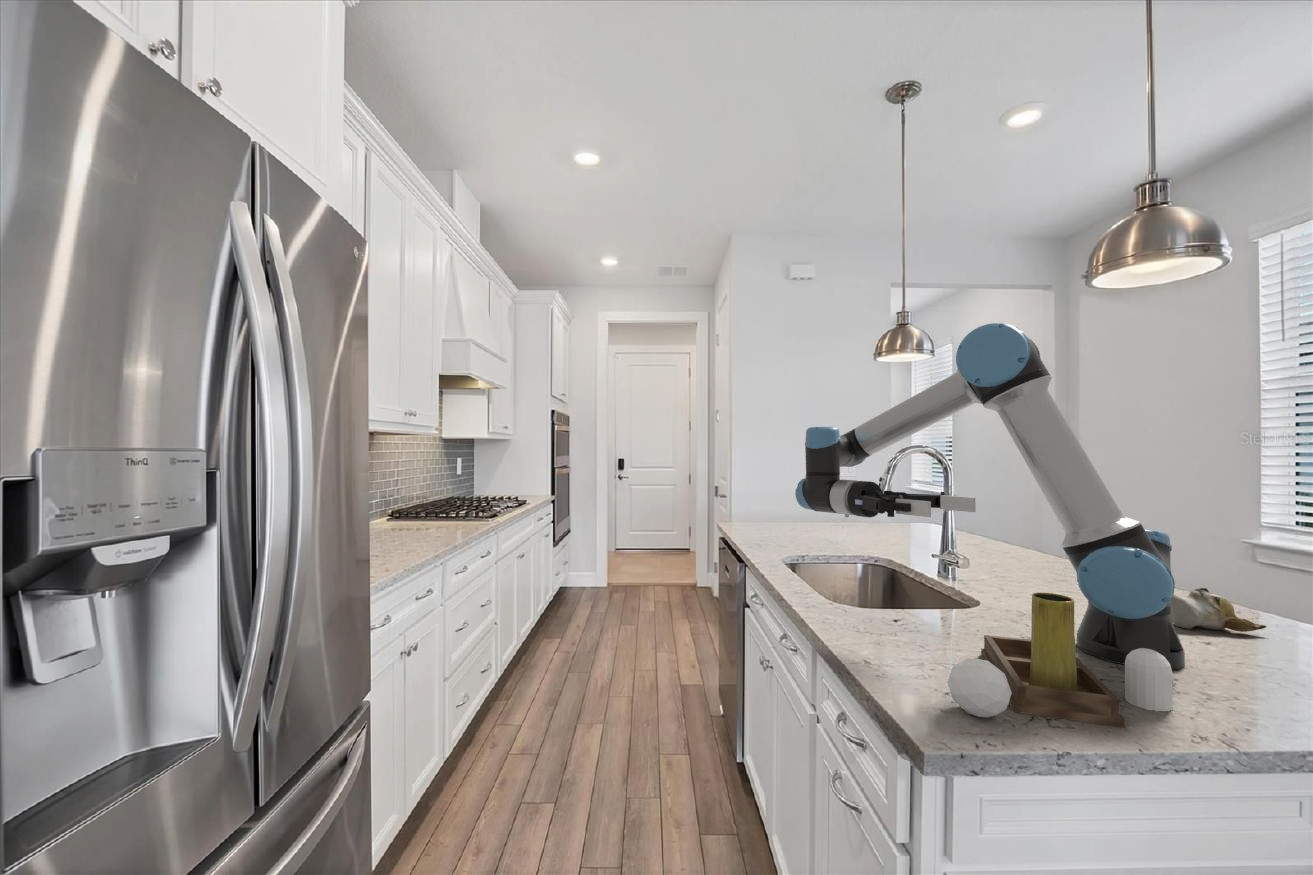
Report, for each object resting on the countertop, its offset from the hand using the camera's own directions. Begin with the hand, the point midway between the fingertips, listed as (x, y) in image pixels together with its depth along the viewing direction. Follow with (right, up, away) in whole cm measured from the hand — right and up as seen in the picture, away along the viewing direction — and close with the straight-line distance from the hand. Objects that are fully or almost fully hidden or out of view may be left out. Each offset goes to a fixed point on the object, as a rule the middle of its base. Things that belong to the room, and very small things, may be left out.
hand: (953, 507), depth 102 cm
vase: (+6, -26, -18) cm, 32 cm away
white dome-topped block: (+19, -27, -18) cm, 38 cm away
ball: (-8, -27, -22) cm, 35 cm away
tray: (+8, -27, -13) cm, 31 cm away
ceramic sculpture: (+62, -28, +16) cm, 70 cm away
